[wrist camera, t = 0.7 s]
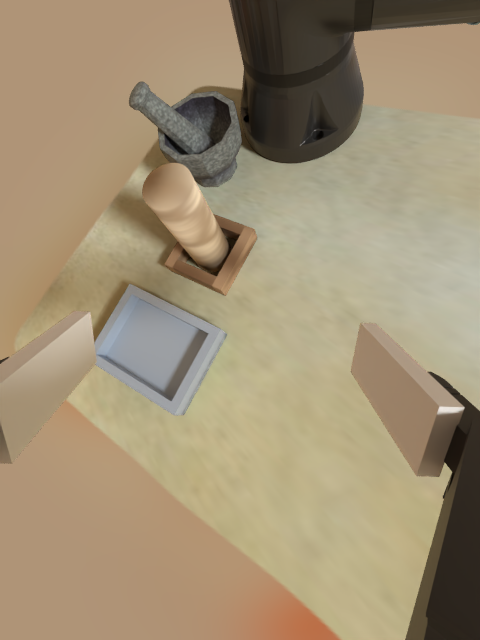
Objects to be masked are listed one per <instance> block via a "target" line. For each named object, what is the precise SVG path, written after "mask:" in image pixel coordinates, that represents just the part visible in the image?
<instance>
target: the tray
mask: <svg viewBox="0 0 480 640" xmlns="http://www.w3.org/2000/svg"><path fill="white" fill-rule="evenodd" d="M226 336H227V334H226V333H225V332H224V331H223V330H221V329H220V328H218V327H216V326H214V325H212V324H210V323H208V322H206V321H204V320H202V319H200V318H198V317H196V316H194V315H192V314H190V313H188V312H186V311H184V310H182V309H180V308H178V307H176V306H174V305H172V304H170V303H168V302H166V301H164V300H162V299H160V298H158V297H156V296H154V295H152V294H150V293H148V292H146V291H144V290H142V289H140V288H138V287H136V286H134V285H132V284H129V286H128V287H127V289H126V291H125V292H124V294H123V296H122V297H121V299H120V301H119V302H118V304H117V306H116V308H115V309H114V311H113V313H112V314H111V316H110V318H109V319H108V321H107V323H106V324H105V326H104V328H103V329H102V331H101V333H100V334H99V336H98V338H97V339H96V341H95V343H94V344H95V351H96V359H97V363H96V364H95V365H96V366H98V367H100V368H101V369H103V370H104V371H106V372H107V373H109V374H111V375H112V376H114V377H115V378H117V379H118V380H120V381H121V382H123V383H125V384H126V385H128V386H129V387H131V388H132V389H134V390H135V391H137V392H139V393H140V394H142V395H143V396H145V397H146V398H148V399H149V400H151V401H153V402H154V403H156V404H157V405H159V406H160V407H162V408H163V409H165V410H167V411H168V412H170V413H171V414H173V415H184V414H185V412H186V410H187V408H188V406H189V404H190V403H191V401H192V399H193V397H194V395H195V393H196V391H197V390H198V388H199V386H200V384H201V382H202V380H203V378H204V377H205V375H206V373H207V371H208V369H209V367H210V365H211V364H212V362H213V360H214V358H215V356H216V354H217V352H218V351H219V349H220V347H221V345H222V343H223V341H224V339H225V338H226Z"/></svg>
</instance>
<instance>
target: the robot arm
mask: <svg viewBox="0 0 480 640" xmlns="http://www.w3.org/2000/svg"><path fill="white" fill-rule="evenodd" d="M229 2H230V7H231V11H232V16H233V20H234V25H235V29H236V34H237V38H238V42H239V47H240V51H241V54H242V60H243V65H244V76H243V88H242V99H241V120H242V124H243V128H244V132H245V136H246V138H247V140H248V142H249V144H250V145H251V147H252V148H253V149H254V150H255V151H256V152H257V153H259V154H260V155H262V156H264V157H266V158H268V159H270V160H273V161H277V162H284V163H299V162H305V161H310V160H313V159H316V158H319V157H322V156H324V155H326V154H328V153H330V152H332V151H333V150H335V149H336V148H338V147H339V146H340V145H341V144H343V143H344V142H345V141H346V140H347V139H348V138H349V136H350V135H351V134H352V133H353V131H354V130H355V128H356V126H357V124H358V122H359V119H360V116H361V111H362V104H363V96H364V88H363V81H362V77H361V73H360V69H359V64H358V60H357V56H356V51H355V47H354V43H353V39H354V32H358V31H368V30H384V29H397V28H410V27H423V26H436V25H448V24H461V23H467V24H471V25H477V24H479V23H480V0H229ZM96 363H97V359H96V351H95V344H94V336H93V329H92V322H91V314H90V312H89V311H73V312H72V313H70V314H69V315H68V316H66V317H65V318H64V319H62V320H61V321H59V322H58V323H57V324H55V325H54V326H52V327H51V328H50V329H48V330H47V331H45V332H44V333H43V334H41V335H40V336H38V337H37V338H36V339H34V340H33V341H31V342H30V343H29V344H27V345H26V346H25V347H23V348H22V349H20V350H19V351H18V352H16V353H15V354H13V355H12V356H11V357H7V358H5V359H3V360H0V463H13V462H14V461H15V459H16V458H17V457H18V456H19V455H20V453H21V452H22V451H23V450H24V449H25V447H26V446H27V445H28V444H29V443H30V441H31V440H32V439H33V438H34V437H35V435H36V434H37V433H38V432H39V430H41V428H42V427H43V426H44V425H45V423H46V422H47V421H48V420H49V419H50V418H51V416H52V415H53V414H54V413H55V412H56V410H57V409H58V408H59V407H60V406H61V404H62V403H63V402H64V401H65V400H66V398H67V397H68V396H69V395H70V394H71V392H72V391H73V390H74V389H75V388H76V386H77V385H78V384H79V383H80V382H81V380H82V379H83V378H84V377H85V376H86V374H87V373H88V372H89V371H90V370H91V369H92V367H93V366H94V365H95V364H96ZM351 373H352V375H353V376H354V378H355V379H356V381H357V382H358V384H359V386H360V387H361V389H362V390H363V392H364V394H365V395H366V397H367V398H368V400H369V402H370V403H371V405H372V406H373V408H374V409H375V411H376V413H377V414H378V416H379V417H380V419H381V421H382V422H383V424H384V425H385V427H386V428H387V430H388V432H389V433H390V435H391V436H392V438H393V440H394V441H395V443H396V444H397V446H398V448H399V449H400V451H401V452H402V454H403V455H404V457H405V459H406V460H407V462H408V463H409V465H410V467H411V468H412V470H413V471H414V473H415V475H416V476H433V477H439V476H440V473H441V471H442V468H443V465H444V463H446V464H447V466H448V467H449V468H450V469H451V471H452V474H451V477H450V480H449V482H448V485H447V487H446V490H445V493H444V495H443V498H444V501H443V505H442V508H441V512H440V516H439V519H438V523H437V526H436V530H435V534H434V537H433V541H432V545H431V548H430V552H429V556H428V559H427V563H426V566H425V570H424V574H423V577H422V581H421V585H420V588H419V592H418V596H417V599H416V603H415V606H414V610H413V614H412V617H411V621H410V625H409V628H408V632H407V635H406V639H405V640H480V411H479V410H478V409H477V408H476V407H474V406H473V405H472V404H471V403H470V402H469V401H468V400H467V399H466V398H465V397H463V396H462V395H460V393H459V392H458V391H457V390H456V389H454V388H453V387H452V386H451V385H450V384H449V383H448V382H447V381H446V380H445V379H443V378H441V377H440V376H438V375H436V374H434V373H432V372H427V371H426V370H425V369H424V368H423V367H421V366H420V365H419V364H418V363H417V362H416V361H415V360H414V359H413V358H412V357H411V356H410V355H409V354H408V353H407V352H406V351H405V350H404V349H402V348H401V347H400V346H399V345H398V344H397V343H396V342H395V341H394V340H393V339H392V338H391V337H390V336H389V335H388V334H387V333H386V332H384V331H383V330H382V329H381V328H380V327H379V326H378V325H377V324H376V323H360V327H359V332H358V337H357V342H356V347H355V352H354V357H353V362H352V367H351Z"/></svg>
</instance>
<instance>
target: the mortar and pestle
mask: <svg viewBox="0 0 480 640" xmlns="http://www.w3.org/2000/svg"><path fill="white" fill-rule="evenodd" d="M129 105H130V106H131V107H132V108H133V109H135V110H139V111H140V112H141V113H143V114H144V115H145V116H146V117H147V118H148V119H149V120H150V121H151V122H152V123H154V124H155V125H156V126H157V127H158V135H159V144H160V149H161V151H162V152H163V154H164V156H165V157H166V158H167V159H168V161H169V162H170V163H179V164H182V165H184V166H186V167H187V168H188V169H189V171H190V172H191V174H192V176H193V178H194V179H195V181H197V182H198V183H199V184H201V185H202V186H203V187H218V186H220V185H222V184H223V183H225V182H227V181H228V180H230V179H231V177H232V176H233V174H234V172H235V170H236V168H237V163H236V158H235V157H236V155H237V153H238V152H239V149H240V146H241V143H242V140H241V131H240V126H239V121H238V116H237V111H236V108H235V104H234V101H232V100H230V99H229V98H227V97H225V96H223V95H222V94H220V93H218V92H216V91H212V92H203V93H194V94H190V95H189V96H187V97H186V98H184V99H183V100H181V101H180V102H178V103H176V104H175V105H173V106H172V107H170V106H169V105H168V104H166V103H165V102H164V101H163V100H161V99H160V98H159V97H157V96H156V95H155V94H154V93H152V92H151V91H150V88H149V86H148V85H147V84H146V83H145V82H139V83H138V84H137V85H136V86H135V87H134V89H133V90H132V92H131V95H130V98H129Z"/></svg>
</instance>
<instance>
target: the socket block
mask: <svg viewBox="0 0 480 640" xmlns="http://www.w3.org/2000/svg"><path fill="white" fill-rule="evenodd" d="M213 215H214V214H213ZM214 217H215V219H216V221H217V222H218V224H219V226H220V228H221V230H222V232H223V234H224V235H225V236H227V237H230V238H233V239H235V240H237V242H236V244H235V245H234V247H233V249H232V251H231V253H230V254H229V256H228V258H227V260H226V262H225V263H224V265H223V267H222V269H221V270H220V272H219V274H218V276H217V277H216V276H214V275H212V274H209V273H207V272H205V271H203V270H200V269H198V268H196V267H194V266H191V265H189V264H187V263H186V262H187V260H188V258H189V256H190V255H189V254H188V253H187V251H186V250H185V249H184V248H183V247H182V245H181V244H180V243H179V242H177V244H176V245H175V247H174V249H173V250H172V252H171V254H170V255H169V257H168V259H167V261H166V262H165V264H164V265H166V266H167V267H168V268H169V269H170V270H171V271H172V272H175V273H177V274H179V275H181V276H183V277H185V278H188V279H190V280H192V281H194V282H196V283H199V284H201V285H203V286H205V287H207V288H209V289H212V290H214V291H216V292H218V293H220V294H222V295H225V296H226V294H227V293H228V291H229V289H230V287H231V285H232V283H233V282H234V280H235V278H236V276H237V274H238V273H239V271H240V269H241V267H242V265H243V263H244V262H245V260H246V258H247V256H248V254H249V252H250V251H251V249H252V247H253V245H254V243H255V242H256V240H257V235H256V232H255V229H253V228H250V227H247V226H244V225H242V224H239V223H236V222H233V221H231V220H228V219H225V218H223V217H220V216H217V215H214Z"/></svg>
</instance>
